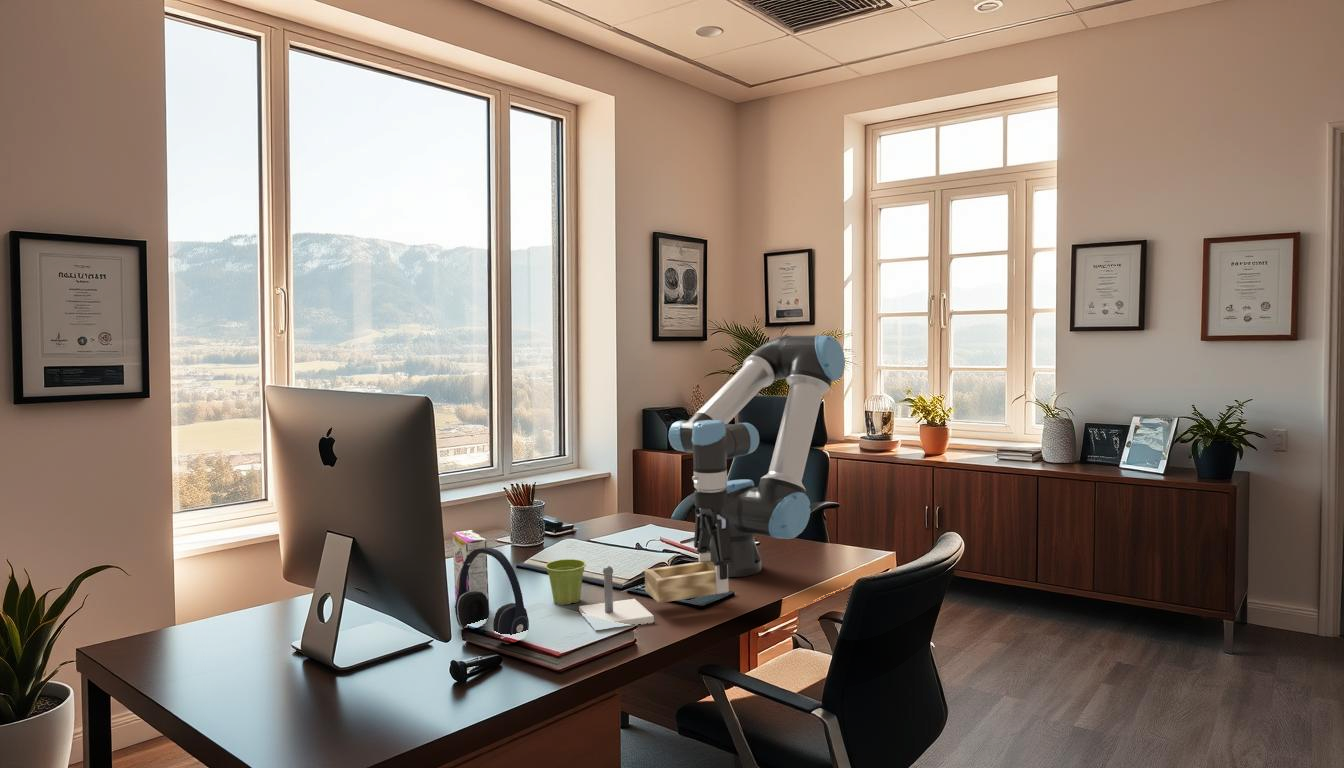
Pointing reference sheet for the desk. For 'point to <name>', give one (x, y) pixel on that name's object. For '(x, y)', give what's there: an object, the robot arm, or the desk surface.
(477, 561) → the candy bar box
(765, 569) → the desk surface
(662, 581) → the wooden planter box
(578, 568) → the plant pot
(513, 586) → the headphones
